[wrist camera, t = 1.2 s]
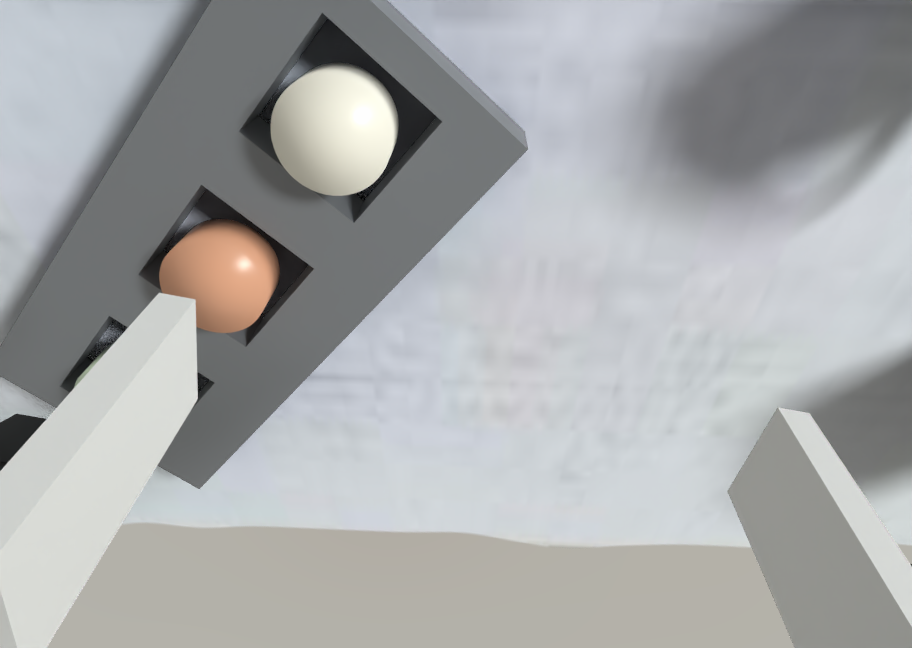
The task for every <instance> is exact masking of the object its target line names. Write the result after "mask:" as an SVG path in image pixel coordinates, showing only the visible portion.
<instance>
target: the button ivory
mask: <svg viewBox="0 0 912 648" xmlns="http://www.w3.org/2000/svg"><path fill="white" fill-rule="evenodd" d="M398 131H399V119H398V113H397V109H396V106H395V103H394V101H393V99H392V97H391V95H390V93H389V92H388V90H387V89H386V87H385V86H384V85H383V84H382V83H381V82H380V81H379V80H378V79H377V78H376V77H375V76H374V75H372V74H371V73H370V72H368V71H366V70H365V69H363V68H360V67H358V66H355V65H352V64H348V63H341V62H333V63H326V64H322V65H319V66H317V67H315V68H312V69H311V70H309V71H308V72H306V73H305V74H304V75H302V76H301V77H300V78H299V79H297V80H296V81H295V82H294V83H292V84H291V85H290V86H289V87H288V88H287V89H286V90H285V91H284V92H283V93H282V94H281V95H280V97H279V99H278V100H277V102H276V104H275V107H274V109H273V113H272V117H271V139H272V143H273V147H274V150H275V152H276V155H277V157H278V159H279V161H280V162H281V164H282V165H283V167H284V168H285V170H286V171H287V172H288V173H289V174H290V175H291V176H292V177H293V178H294V179H295V180H296V181H298V182H299V183H300V184H302V185H303V186H305V187H307V188H309V189H310V190H313V191H315V192H318V193H321V194H325V195H332V196H344V195H350V194H354V193H357V192H360V191H362V190H364V189H366V188H367V187H369V186H370V185H372V184H373V183H374V182H375V181H376V180H377V179H378V178H379V177H380V176H381V174H382V173H383V171H384V170H385V168H386V166H387V164H388V161H389V159H390V157H391V154H392V152H393V149H394V147H395V144H396V142H397V137H398Z"/></svg>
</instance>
